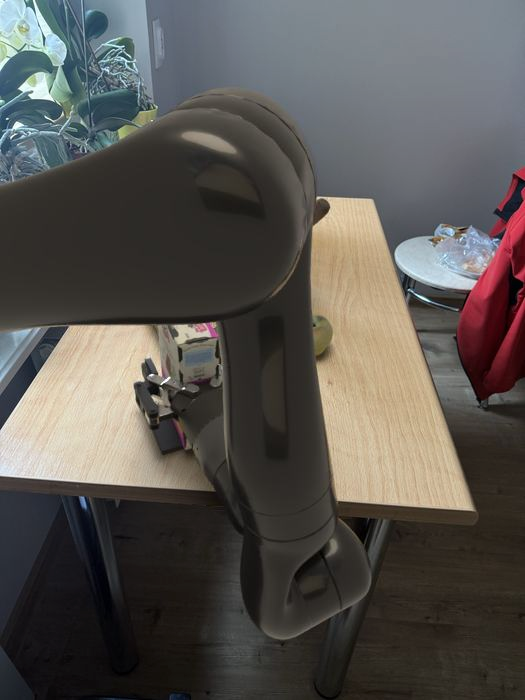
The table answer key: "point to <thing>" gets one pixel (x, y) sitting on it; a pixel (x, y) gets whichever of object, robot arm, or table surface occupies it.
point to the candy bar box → (188, 357)
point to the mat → (168, 437)
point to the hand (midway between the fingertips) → (180, 355)
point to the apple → (321, 333)
